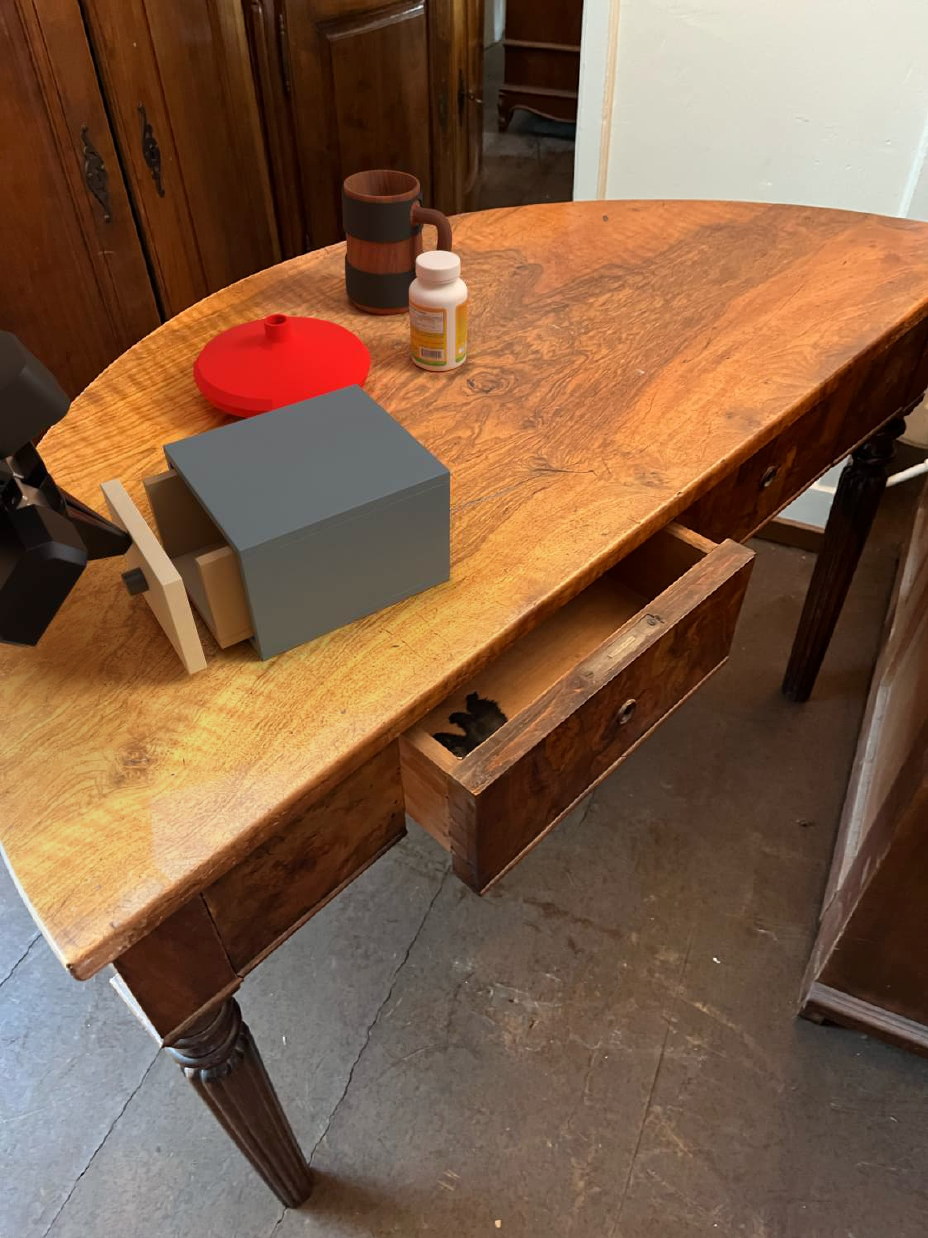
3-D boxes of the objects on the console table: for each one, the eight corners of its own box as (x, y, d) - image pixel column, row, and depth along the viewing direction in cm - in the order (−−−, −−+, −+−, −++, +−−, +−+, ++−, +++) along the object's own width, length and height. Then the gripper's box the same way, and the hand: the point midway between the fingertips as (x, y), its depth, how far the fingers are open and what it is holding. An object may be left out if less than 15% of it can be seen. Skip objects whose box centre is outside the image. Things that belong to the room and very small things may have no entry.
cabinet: (263, 661, 58) (238, 550, 51) (191, 554, 66) (162, 445, 59) (450, 579, 64) (450, 470, 57) (365, 489, 71) (356, 383, 65)
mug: (431, 332, 90) (429, 213, 81) (331, 305, 94) (319, 189, 85) (469, 297, 95) (472, 182, 87) (373, 273, 99) (367, 161, 91)
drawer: (171, 683, 56) (141, 593, 50) (113, 579, 62) (80, 489, 57) (376, 595, 62) (369, 506, 56) (302, 508, 68) (290, 421, 63)
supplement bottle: (451, 340, 89) (452, 242, 82) (476, 365, 85) (478, 265, 78) (402, 351, 87) (398, 252, 80) (425, 377, 84) (422, 276, 77)
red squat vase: (273, 464, 74) (260, 388, 69) (164, 393, 81) (145, 320, 76) (408, 391, 82) (406, 319, 77) (298, 332, 89) (289, 263, 84)
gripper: (-34, 402, 35) (263, 522, 47) (-119, 236, 46) (142, 369, 58) (-158, 619, 38) (155, 679, 50) (-210, 413, 48) (58, 505, 61)
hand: (127, 544), depth 55 cm, fingers closed, pressing on drawer
